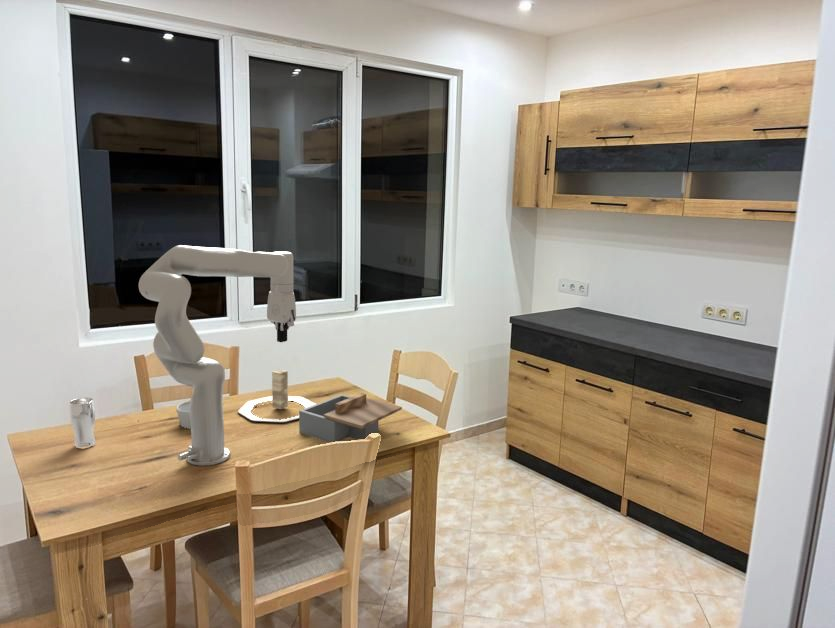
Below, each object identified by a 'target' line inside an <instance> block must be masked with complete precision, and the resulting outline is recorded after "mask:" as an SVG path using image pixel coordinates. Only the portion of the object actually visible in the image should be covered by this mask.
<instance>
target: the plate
mask: <svg viewBox="0 0 835 628" xmlns="http://www.w3.org/2000/svg"><path fill="white" fill-rule="evenodd" d="M272 400H273V395H269V396H264V397H260V398H256V399H252V400H248V401H246V402H245V403H244V404H243V406H241V407H240V408H239V409H238V410H237V411H238V414H240V415H242V417H244V418H246V419H247V420H249V421H250V422H253V423H254V422H259V423H276V424H277V423H278V424H280V423H281V424H282V423H288V422H293V421H297V420H299V414H297V415H298V416H297V415H295V417H293V416H290V417H291V418H289V417H286V418H287V419H285V418H280V419H281V420H279V418H263V417H260V416H258V415H256V414H255V415H256V416H255V415H253V414H254V413H253V412H252V413H253V414H252V413H251V410H252V409H253V407H254V405H256V404H258V403H262V402H267V401H272ZM288 401H294V402H297V403H299V404H301V405H303V406H304V407H305V408H308V407H310V406H313V405H315V404H317V403H316V402H314V401H312V400H310V399H308V398H306V397H304V396H298V395H295V396H294V395H288ZM294 402H293V403H294ZM297 403H296V404H297ZM299 404H298V405H299ZM301 405H300V406H301ZM303 406H302V407H303ZM304 407H303V408H304ZM305 408H304V409H305ZM257 416H258V417H257ZM259 417H260V418H259ZM262 418H263V419H262Z"/></svg>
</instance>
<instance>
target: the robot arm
mask: <svg viewBox="0 0 835 628" xmlns="http://www.w3.org/2000/svg"><path fill="white" fill-rule="evenodd" d="M183 275H188V276H193V277H195V276H196V277H228V278H229V277H232V278H233V277H234V278H249V277H250V278H252V277H254V278H270V285H269V287H270V291H269V292H268V296H267V304H266V305H267V306H266V307H267V308H266V317H267V320H268V321H270V323H272V324H274V326H275V327H274V328H275V330H276V341H277V343H286V342H287V341H288V330H289V329H290V328H291V327H294V326H295V322H296V320H297V307H296V297H295V293H294V254H293V253H292V252H290V251H284V250H283V251H281V250H280V251H278V250H277V251H273V252H269V251H267V252H266V251H247V250H243V249H236V248H229V247H228V248H225V247H208V246H207V247H206V246H196V245H195V246H192V245H185V244H184V245H182V244H179V245H175V246H174V247H172V248H170V249H168V250H167V251H166V252H165V253H164V254H163V255H162V256H161V257H159V258H158V259H157V260H156V261H155V262H154V263H153V264H152V265H151V266H150V267H149V268H148V269H147V270H145V272H143V274H141V276H140V278H139V281H138V290H139V293H140V294H141V296H143V297H144V298H145V299H147V300H149V301H153V302H157V303H158V305H157V308H156V312H155V315H154V316H155V317H154V325H155V327H156V330H157V333H156V334H155V335H154V339H153V342H152V345H153V350H154V353H155V355H156V357H157V358H158V360H159V362H161V364H162V366H163V367H164V368H165V370H166V371H167V372H168V373H169V375H170V376H171V377H172V379H173V380H175V381H176V382H177V383H179V384H182V385H185V386H188V387H190V388H193V392H192V394H191V397H190V399H189V401H190V421H191V429H190V435H191V436H190V437H191V438H190V439H191V442H190V443H191V444H190V445H189V446H188V450H186V452H182V453H179V454H178V455H177V460H178V461H179V462H181V461H184V460H186V461H187V463H189V464H191V465H194V466H200V467H203V466H204V467H205V466H206V465H207V466H213V465H218V464H221V463H223V462H225V461H227V460H228V459H229V458H230V457H231V452H230V449H229V448H227V447H225V425H224V407H223V406H224V403H223V402H224V401H223V400H224V399H223V397H224V395H223V394H224V386H225V380H226V379H225V378H226V372H225V368H224V367H223V365H222V364H221V363H220V362H219V361H217V360H216V359H213V358H209V357H205V356H204V355H205V345H204V343H203V341H202V339H201V338H200V336H199V335H198V333H197V331H196V329H195V328H194V327H193V325H192V323H191V322H190V319H189V318H188V316H187V306H188V302H189V300H190V298H191V295H192V287H191V283H190V281H189V280H188V278H186V277H185V276H183Z"/></svg>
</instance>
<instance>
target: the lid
mask: <svg viewBox="0 0 835 628" xmlns="http://www.w3.org/2000/svg"><path fill="white" fill-rule="evenodd" d="M350 397H351V398H348V399H346V400H343V401H341V402H338V403H336V404H335V410H333V411H331V412H329V413H326V414H324V418H327V419H331V420H334V421H337V422H341V423H344V424H347V425H350V426H354V427H357V428H360V429H362V428H364V427H366V426H368V425H370V424H372V423H375V422H377V421H378V422H379V421H381V420H383V419H385V418H387V417H389V416H391V415H394V414H395V413H398V412H400V411H402V409H403V407H402V406H399V405H396V404H392V403H389V402H385V401H381V400H377V399H374V398H370V397H367V393H362V392H360V393H358V394H356V395H354V396H350Z"/></svg>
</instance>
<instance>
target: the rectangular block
mask: <svg viewBox="0 0 835 628" xmlns="http://www.w3.org/2000/svg"><path fill="white" fill-rule="evenodd" d="M288 375H289V374H288V370H286V369H285V370H284V369H280V368H279V369H277V370H272V371H271V379H272V381H271V383H272V384H271V385H272V386H271V388H272V389H271V390H272V392H271V393H272V394H271V396H273V402H272V408H275V409H279V410H283V409H285V408H287V407H289V402H288V396H289V391H288V390H289V385H288V383H289V380H288Z"/></svg>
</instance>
